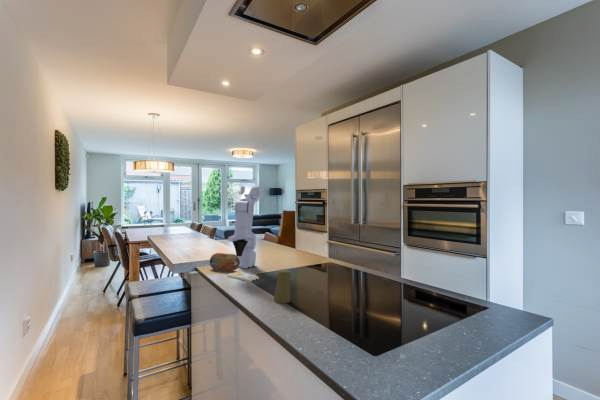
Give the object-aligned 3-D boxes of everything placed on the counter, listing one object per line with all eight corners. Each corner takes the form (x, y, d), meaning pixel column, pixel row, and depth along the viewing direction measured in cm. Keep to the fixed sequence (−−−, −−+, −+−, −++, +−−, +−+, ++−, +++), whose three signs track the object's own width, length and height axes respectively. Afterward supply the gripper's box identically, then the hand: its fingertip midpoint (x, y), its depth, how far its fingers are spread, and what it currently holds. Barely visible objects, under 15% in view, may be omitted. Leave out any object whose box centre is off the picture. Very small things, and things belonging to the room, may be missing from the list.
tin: (208, 269, 149) (210, 252, 149) (211, 268, 152) (213, 251, 152) (237, 272, 146) (238, 255, 146) (239, 271, 149) (241, 254, 149)
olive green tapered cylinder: (291, 298, 111) (293, 269, 111) (289, 304, 105) (291, 272, 105) (275, 297, 112) (277, 267, 112) (272, 302, 106) (274, 271, 106)
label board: (236, 274, 143) (237, 271, 143) (258, 279, 136) (258, 276, 136) (227, 276, 137) (227, 273, 137) (249, 281, 131) (249, 278, 131)
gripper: (244, 225, 147) (242, 253, 147) (223, 226, 134) (221, 256, 134) (255, 226, 144) (253, 255, 143) (236, 227, 131) (233, 259, 131)
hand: (239, 256), depth 138 cm, fingers closed
